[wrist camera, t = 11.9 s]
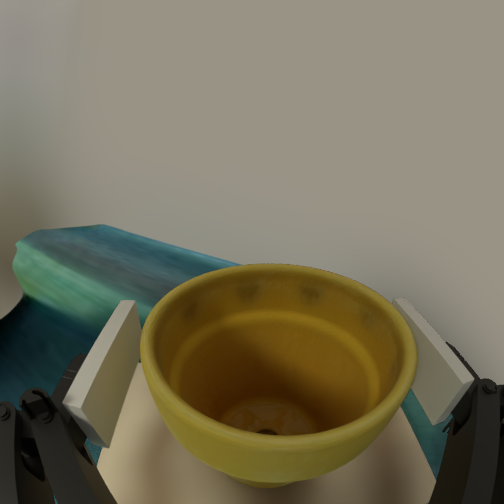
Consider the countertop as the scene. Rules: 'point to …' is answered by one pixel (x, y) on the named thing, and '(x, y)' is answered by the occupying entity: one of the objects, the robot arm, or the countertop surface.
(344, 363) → the plant pot
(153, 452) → the birch stand
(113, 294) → the countertop surface
